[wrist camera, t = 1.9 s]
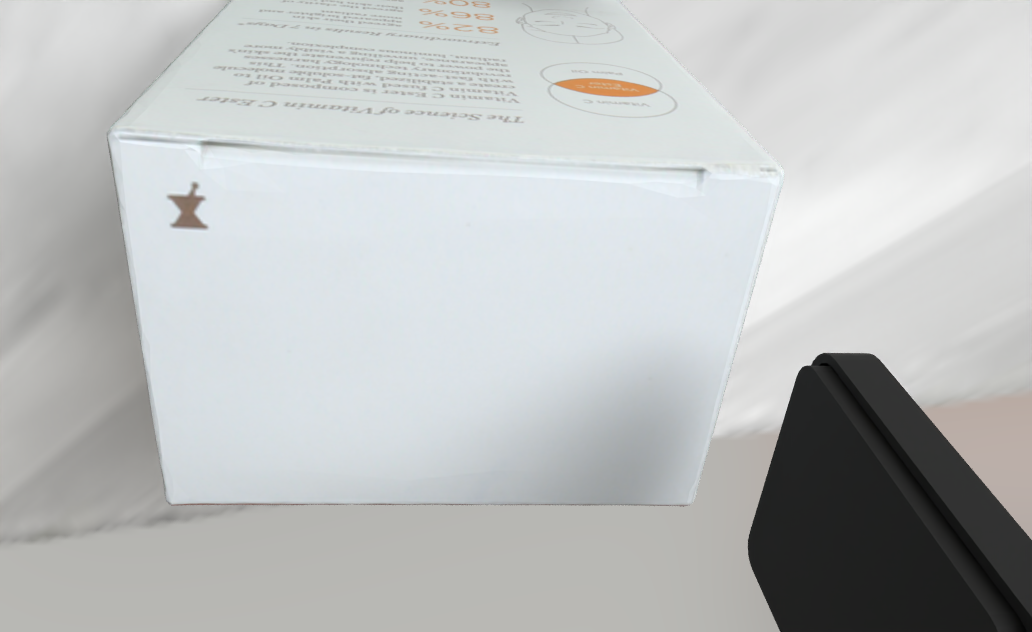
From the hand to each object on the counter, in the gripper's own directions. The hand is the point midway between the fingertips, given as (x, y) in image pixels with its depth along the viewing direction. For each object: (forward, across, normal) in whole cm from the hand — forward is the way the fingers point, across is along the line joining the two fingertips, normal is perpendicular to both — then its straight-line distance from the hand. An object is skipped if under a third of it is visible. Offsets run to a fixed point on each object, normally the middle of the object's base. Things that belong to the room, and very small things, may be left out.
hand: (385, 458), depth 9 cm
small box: (+12, -1, 0) cm, 13 cm away
